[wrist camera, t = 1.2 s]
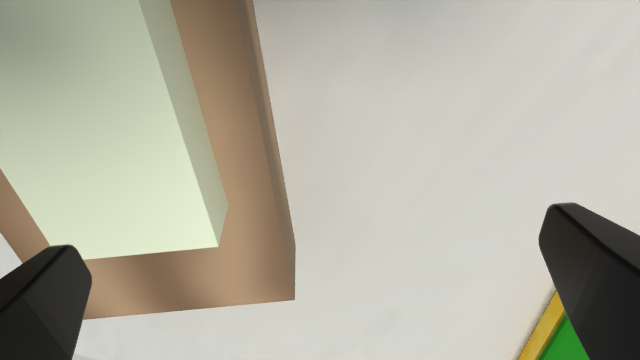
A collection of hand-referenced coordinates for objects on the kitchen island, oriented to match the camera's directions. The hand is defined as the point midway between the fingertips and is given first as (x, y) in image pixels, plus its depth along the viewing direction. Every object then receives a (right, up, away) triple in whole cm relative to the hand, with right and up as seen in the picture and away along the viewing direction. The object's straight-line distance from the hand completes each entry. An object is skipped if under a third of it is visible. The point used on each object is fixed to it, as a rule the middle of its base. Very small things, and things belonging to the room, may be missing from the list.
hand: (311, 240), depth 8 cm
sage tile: (-7, +3, +7) cm, 11 cm away
